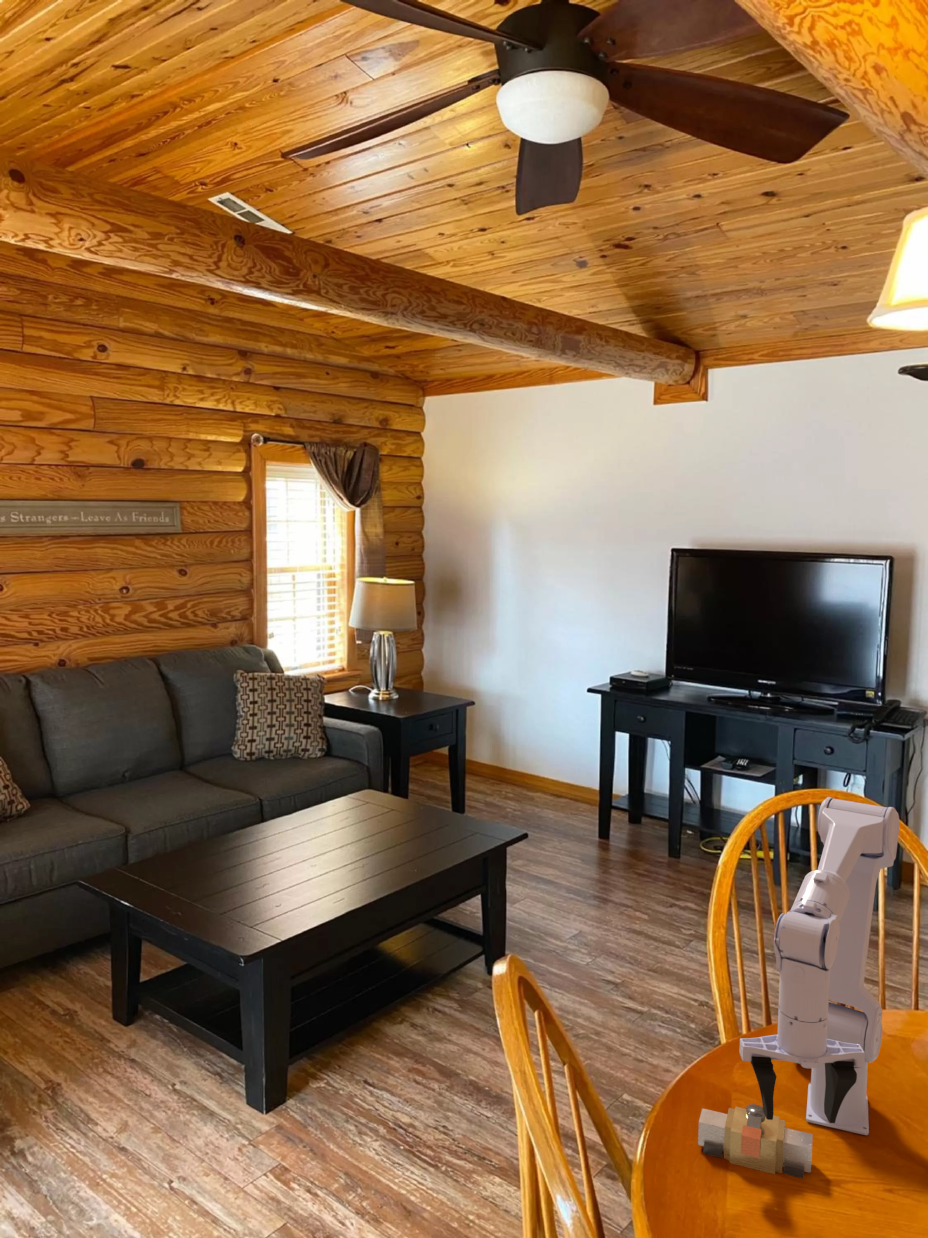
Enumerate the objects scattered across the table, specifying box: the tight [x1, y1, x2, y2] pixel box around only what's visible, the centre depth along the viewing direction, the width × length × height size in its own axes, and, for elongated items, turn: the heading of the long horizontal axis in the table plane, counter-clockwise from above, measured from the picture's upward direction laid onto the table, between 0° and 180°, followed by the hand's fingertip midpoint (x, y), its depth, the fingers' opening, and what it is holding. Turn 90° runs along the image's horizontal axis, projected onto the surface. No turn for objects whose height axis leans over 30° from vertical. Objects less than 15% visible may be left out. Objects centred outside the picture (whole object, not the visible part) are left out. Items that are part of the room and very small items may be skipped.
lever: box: [741, 1103, 765, 1158], centre depth 118 cm, size 8×2×2 cm, turn 158°
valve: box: [697, 1106, 814, 1179], centre depth 121 cm, size 6×14×5 cm, turn 68°
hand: (798, 1116), depth 115 cm, fingers open, 7 cm apart
